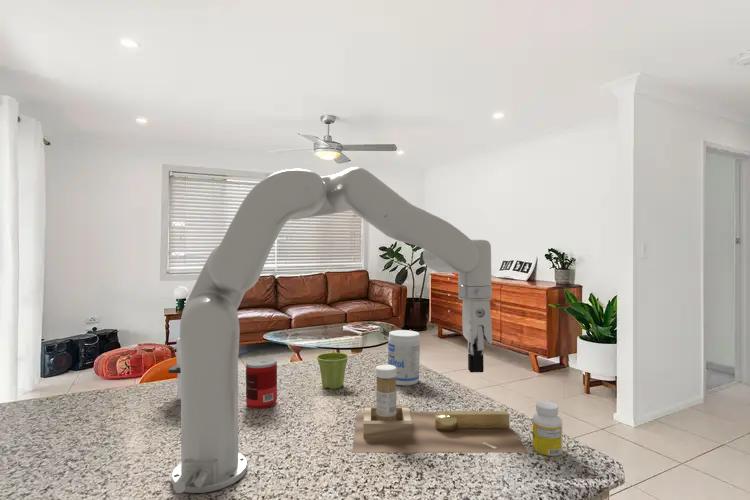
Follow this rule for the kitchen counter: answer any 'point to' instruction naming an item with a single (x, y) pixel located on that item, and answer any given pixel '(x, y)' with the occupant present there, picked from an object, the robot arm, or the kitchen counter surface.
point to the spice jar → (386, 392)
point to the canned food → (261, 383)
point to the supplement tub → (404, 355)
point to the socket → (387, 424)
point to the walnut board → (438, 438)
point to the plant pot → (332, 369)
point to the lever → (471, 419)
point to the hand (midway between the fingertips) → (475, 371)
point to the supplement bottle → (547, 430)
